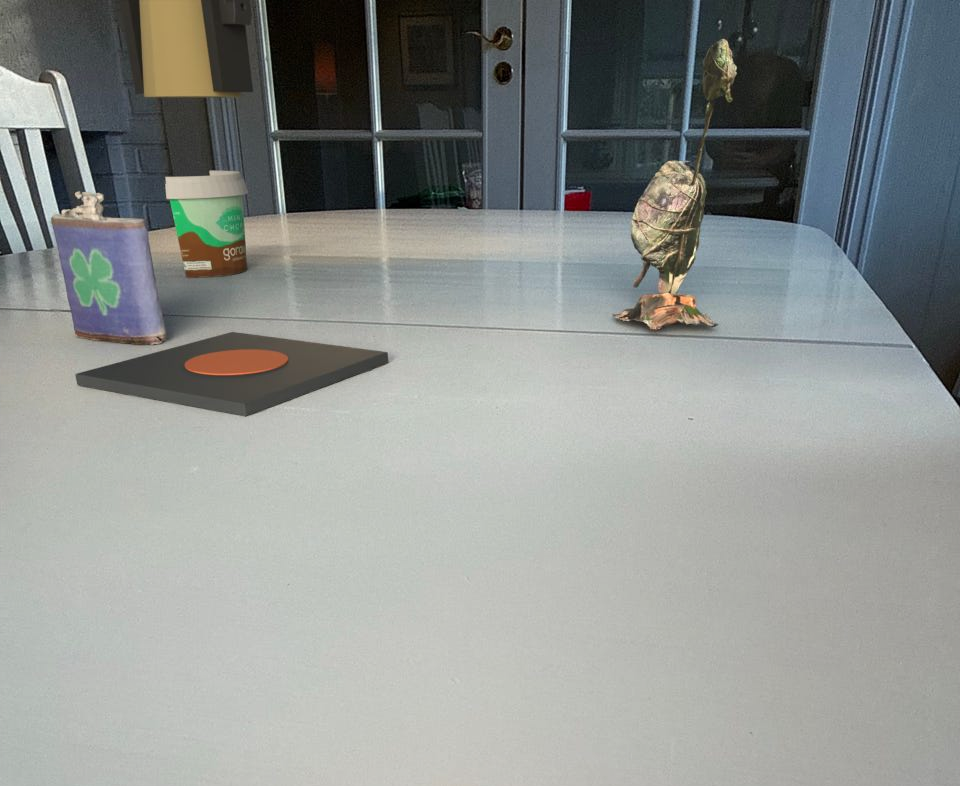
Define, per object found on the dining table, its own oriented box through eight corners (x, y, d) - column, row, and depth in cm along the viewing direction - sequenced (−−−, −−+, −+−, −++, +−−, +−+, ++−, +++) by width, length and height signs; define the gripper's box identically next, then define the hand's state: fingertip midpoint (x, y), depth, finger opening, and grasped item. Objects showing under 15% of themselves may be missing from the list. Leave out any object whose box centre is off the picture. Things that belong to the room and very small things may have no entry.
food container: (233, 280, 98) (218, 177, 93) (180, 279, 98) (162, 177, 93) (273, 263, 108) (262, 170, 103) (224, 262, 109) (211, 170, 104)
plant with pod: (693, 309, 81) (722, 45, 71) (725, 336, 71) (763, 34, 61) (604, 311, 81) (620, 46, 71) (624, 338, 71) (645, 35, 61)
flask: (174, 340, 72) (147, 191, 67) (147, 347, 70) (117, 194, 64) (92, 330, 76) (60, 188, 70) (64, 337, 73) (29, 191, 68)
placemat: (77, 385, 60) (73, 372, 60) (233, 341, 71) (232, 330, 71) (245, 416, 54) (243, 401, 53) (389, 363, 65) (388, 350, 64)
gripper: (311, -465, 44) (350, 90, 56) (52, -371, 52) (134, 95, 64) (199, -549, 38) (269, 88, 50) (-71, -429, 46) (43, 95, 58)
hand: (193, 92), depth 57 cm, fingers closed on cork, 6 cm apart
